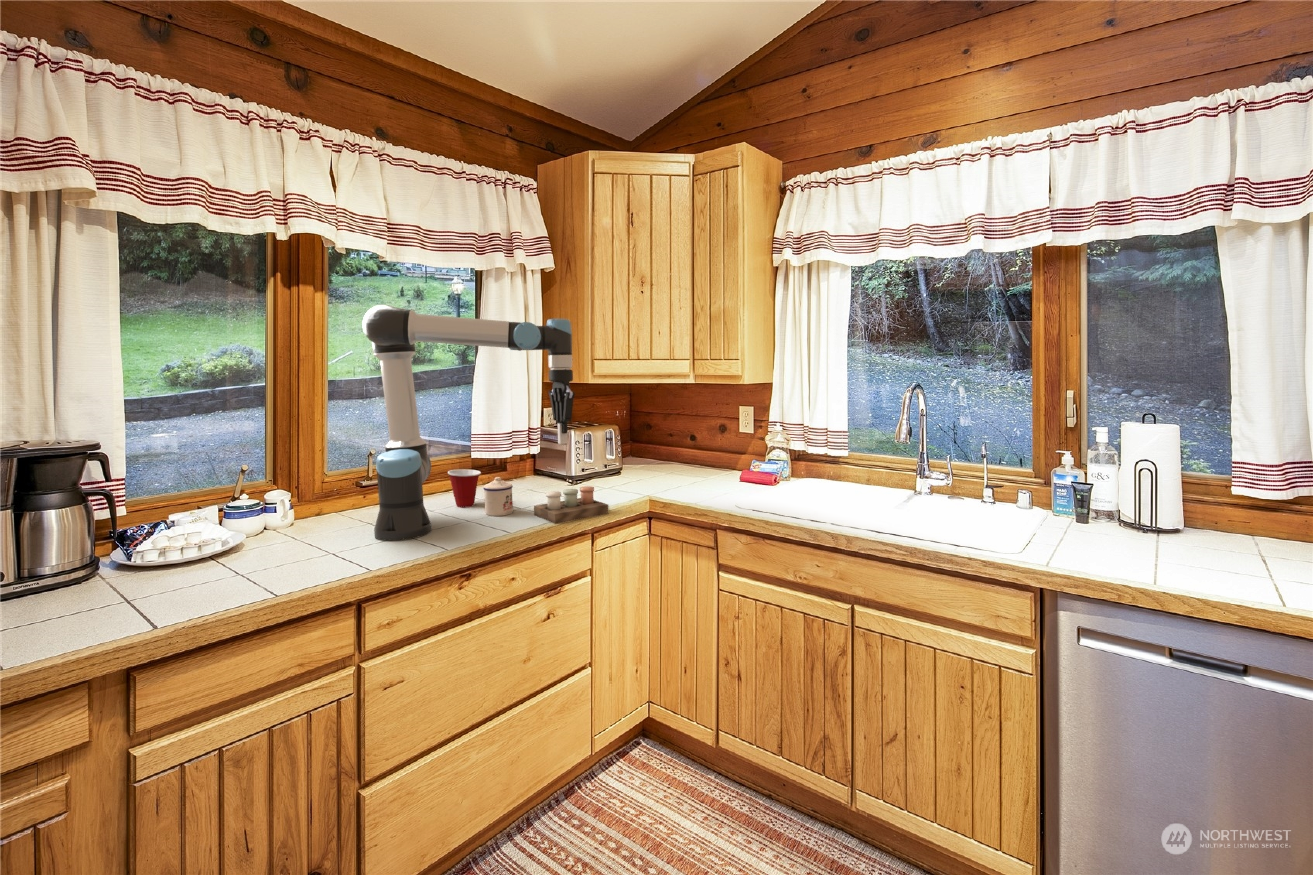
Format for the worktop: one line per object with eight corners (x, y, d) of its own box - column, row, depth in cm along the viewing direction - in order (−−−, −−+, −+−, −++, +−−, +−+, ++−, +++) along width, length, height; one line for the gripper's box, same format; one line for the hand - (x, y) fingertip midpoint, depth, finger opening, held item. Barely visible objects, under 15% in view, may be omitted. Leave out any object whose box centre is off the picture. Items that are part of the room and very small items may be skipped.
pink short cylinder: (584, 505, 196) (584, 489, 195) (577, 503, 199) (577, 487, 199) (597, 503, 198) (596, 487, 198) (589, 501, 202) (589, 485, 201)
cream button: (551, 511, 188) (550, 495, 188) (544, 509, 192) (543, 492, 191) (564, 509, 191) (563, 493, 191) (557, 506, 195) (556, 490, 194)
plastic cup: (478, 508, 205) (477, 473, 203) (445, 509, 204) (443, 474, 202) (485, 501, 215) (483, 467, 214) (454, 502, 215) (452, 468, 213)
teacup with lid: (508, 516, 194) (507, 480, 193) (480, 516, 195) (478, 480, 193) (519, 507, 206) (518, 473, 204) (492, 507, 206) (491, 473, 205)
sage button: (568, 508, 192) (567, 492, 191) (561, 506, 196) (560, 490, 195) (581, 506, 195) (580, 490, 194) (573, 504, 199) (573, 488, 198)
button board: (555, 523, 184) (554, 514, 184) (534, 515, 195) (533, 505, 195) (608, 513, 196) (608, 504, 195) (585, 505, 207) (585, 497, 206)
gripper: (581, 368, 190) (583, 444, 193) (561, 368, 200) (563, 440, 203) (560, 369, 186) (562, 446, 189) (540, 369, 196) (542, 442, 199)
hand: (563, 443), depth 196 cm, fingers closed
